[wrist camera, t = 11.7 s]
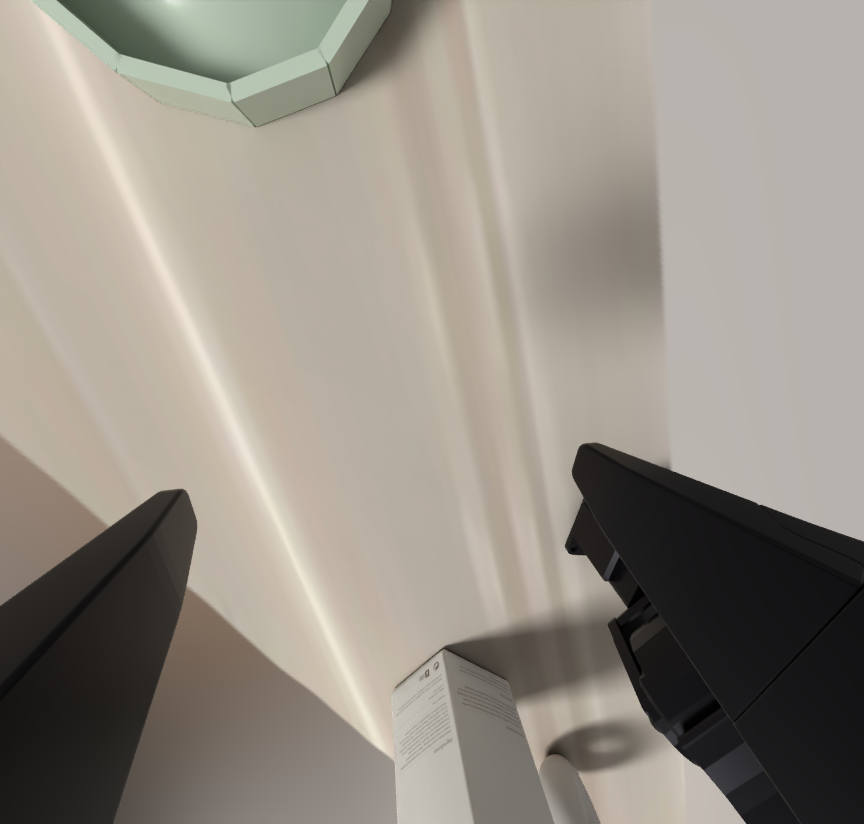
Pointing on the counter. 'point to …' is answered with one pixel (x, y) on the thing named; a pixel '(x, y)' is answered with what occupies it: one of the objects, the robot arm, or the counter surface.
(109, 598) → the robot arm
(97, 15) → the sage green dish
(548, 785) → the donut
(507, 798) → the skincare box
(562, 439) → the counter surface
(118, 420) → the counter surface
